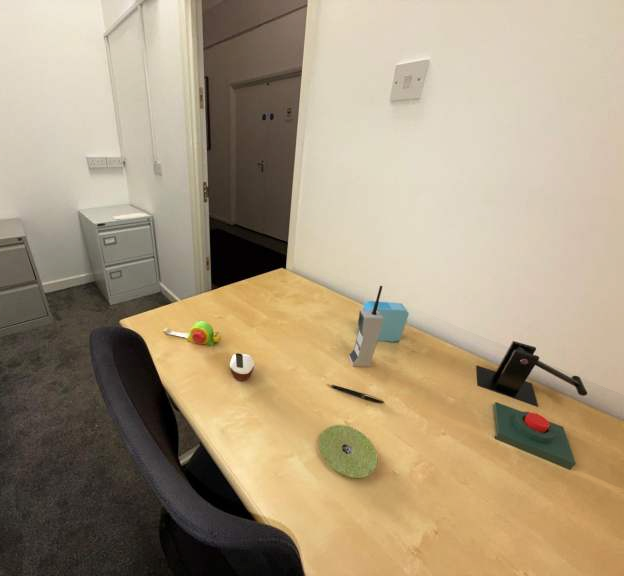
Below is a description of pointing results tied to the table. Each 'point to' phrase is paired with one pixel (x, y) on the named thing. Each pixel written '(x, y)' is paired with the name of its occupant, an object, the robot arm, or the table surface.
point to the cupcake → (241, 366)
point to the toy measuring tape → (198, 334)
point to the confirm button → (536, 422)
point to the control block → (532, 436)
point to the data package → (390, 319)
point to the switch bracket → (511, 374)
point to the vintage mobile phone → (367, 335)
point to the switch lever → (560, 375)
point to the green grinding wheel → (348, 451)
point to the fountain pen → (357, 394)
